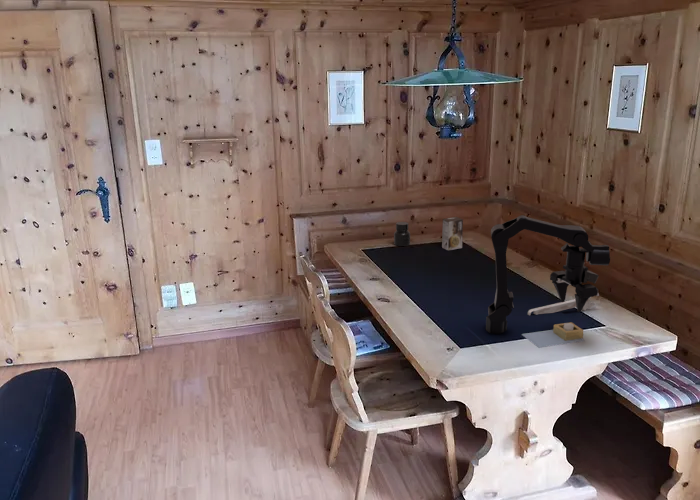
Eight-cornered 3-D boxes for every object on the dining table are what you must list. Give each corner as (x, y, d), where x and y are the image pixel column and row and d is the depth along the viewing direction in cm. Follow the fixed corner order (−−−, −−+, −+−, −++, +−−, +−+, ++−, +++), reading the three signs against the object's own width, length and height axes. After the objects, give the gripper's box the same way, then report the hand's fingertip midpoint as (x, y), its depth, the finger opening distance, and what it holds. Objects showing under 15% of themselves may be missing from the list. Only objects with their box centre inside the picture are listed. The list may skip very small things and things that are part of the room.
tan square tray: (565, 340, 196) (565, 332, 195) (553, 332, 202) (553, 324, 201) (582, 338, 198) (583, 330, 197) (570, 330, 204) (571, 322, 203)
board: (538, 350, 192) (539, 336, 190) (521, 336, 202) (522, 323, 200) (584, 343, 196) (586, 330, 194) (565, 330, 206) (566, 317, 205)
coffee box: (455, 245, 311) (456, 216, 307) (462, 248, 306) (463, 219, 301) (441, 247, 308) (442, 218, 303) (448, 250, 302) (449, 221, 297)
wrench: (527, 323, 220) (596, 306, 225) (530, 325, 218) (599, 308, 224) (527, 304, 217) (596, 287, 223) (529, 306, 216) (599, 289, 221)
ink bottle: (411, 242, 318) (412, 221, 315) (409, 247, 310) (410, 225, 306) (394, 241, 320) (394, 221, 317) (392, 246, 312) (392, 224, 309)
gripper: (614, 269, 186) (609, 314, 190) (578, 253, 203) (574, 294, 207) (584, 273, 183) (580, 318, 187) (550, 256, 200) (547, 298, 205)
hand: (570, 306), depth 197 cm, fingers open, 9 cm apart
